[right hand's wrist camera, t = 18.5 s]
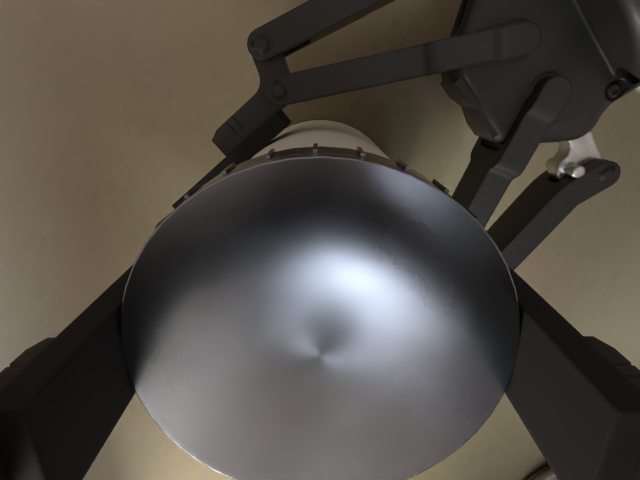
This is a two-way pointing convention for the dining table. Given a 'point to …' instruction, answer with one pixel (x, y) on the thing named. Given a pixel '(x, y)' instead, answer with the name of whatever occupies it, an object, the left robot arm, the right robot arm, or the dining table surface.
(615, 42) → the left robot arm
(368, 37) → the dining table surface
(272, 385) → the lid
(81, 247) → the dining table surface
